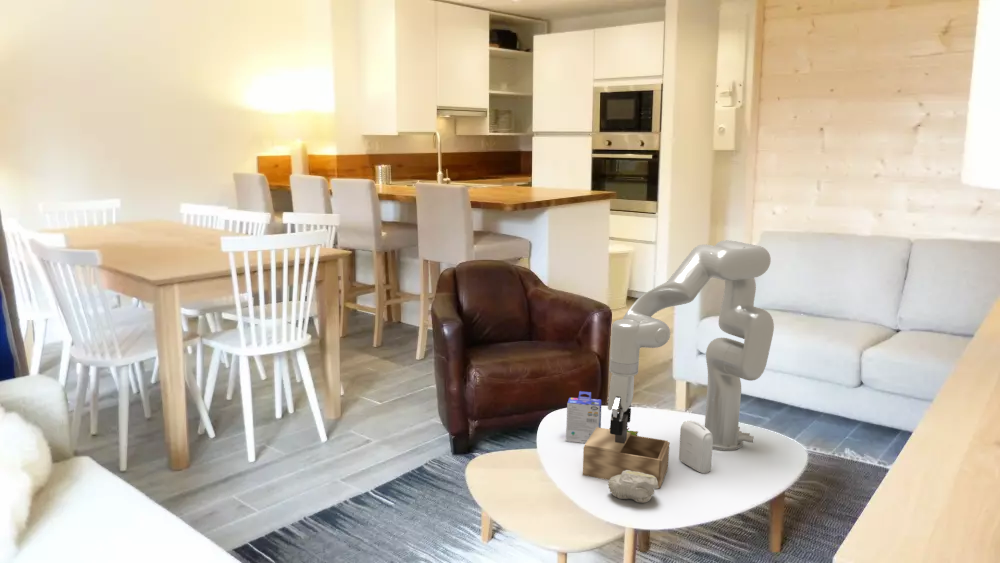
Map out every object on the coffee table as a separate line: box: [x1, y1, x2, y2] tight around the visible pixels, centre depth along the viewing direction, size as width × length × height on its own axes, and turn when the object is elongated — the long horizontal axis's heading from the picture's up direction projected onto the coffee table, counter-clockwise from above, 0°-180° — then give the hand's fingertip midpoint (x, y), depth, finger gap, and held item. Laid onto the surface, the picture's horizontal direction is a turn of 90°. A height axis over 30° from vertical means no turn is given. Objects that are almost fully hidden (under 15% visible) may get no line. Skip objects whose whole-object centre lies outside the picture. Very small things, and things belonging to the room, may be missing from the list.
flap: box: [584, 414, 631, 453], centre depth 203 cm, size 10×13×8 cm
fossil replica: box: [607, 470, 660, 504], centre depth 188 cm, size 12×8×10 cm
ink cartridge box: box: [565, 390, 602, 444], centre depth 222 cm, size 10×6×14 cm, turn 79°
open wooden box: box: [582, 435, 670, 490], centre depth 203 cm, size 21×13×8 cm, turn 69°
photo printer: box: [678, 420, 713, 474], centre depth 206 cm, size 10×4×12 cm, turn 26°
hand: (620, 427), depth 201 cm, fingers open, 9 cm apart
